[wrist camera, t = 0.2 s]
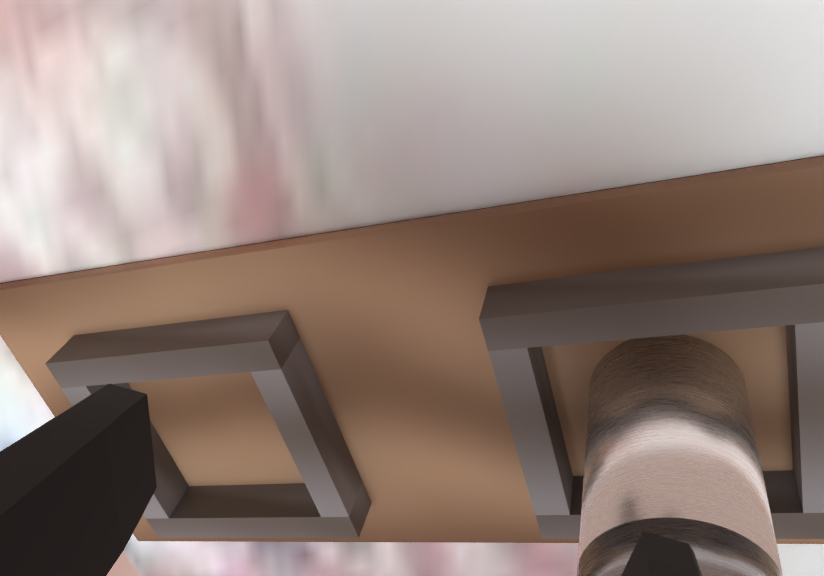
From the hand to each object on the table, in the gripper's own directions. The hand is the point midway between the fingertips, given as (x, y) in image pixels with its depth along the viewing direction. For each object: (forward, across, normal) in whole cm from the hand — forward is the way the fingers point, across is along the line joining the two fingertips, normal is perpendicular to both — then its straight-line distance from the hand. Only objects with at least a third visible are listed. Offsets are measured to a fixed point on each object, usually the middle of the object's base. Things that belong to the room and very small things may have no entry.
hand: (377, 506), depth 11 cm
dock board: (+10, +1, +7) cm, 12 cm away
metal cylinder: (+10, -6, +4) cm, 12 cm away
